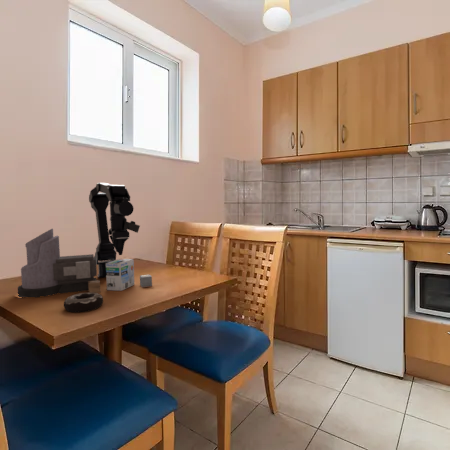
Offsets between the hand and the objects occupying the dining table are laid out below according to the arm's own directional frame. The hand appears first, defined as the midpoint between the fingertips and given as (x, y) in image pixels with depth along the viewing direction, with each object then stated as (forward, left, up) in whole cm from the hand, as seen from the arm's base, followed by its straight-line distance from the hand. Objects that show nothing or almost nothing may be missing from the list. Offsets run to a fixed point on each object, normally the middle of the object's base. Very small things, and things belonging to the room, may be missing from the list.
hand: (119, 253), depth 132 cm
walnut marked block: (+7, -10, -13) cm, 18 cm away
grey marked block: (+7, +9, -13) cm, 17 cm away
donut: (+26, -14, -13) cm, 32 cm away
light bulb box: (+5, 0, -13) cm, 14 cm away
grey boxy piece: (-3, -23, -13) cm, 27 cm away
